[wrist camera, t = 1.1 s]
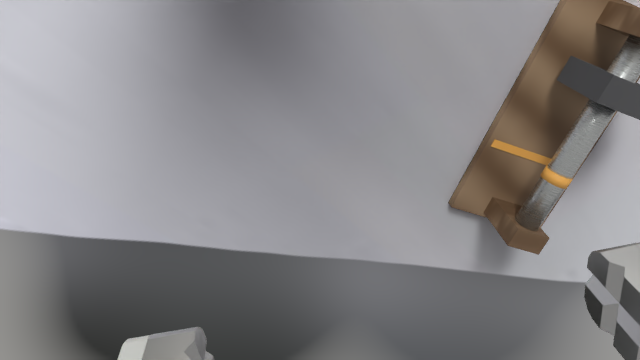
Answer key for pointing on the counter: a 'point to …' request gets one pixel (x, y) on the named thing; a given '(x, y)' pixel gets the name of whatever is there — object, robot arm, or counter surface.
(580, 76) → the collar
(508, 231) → the pipe stand
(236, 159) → the counter surface
